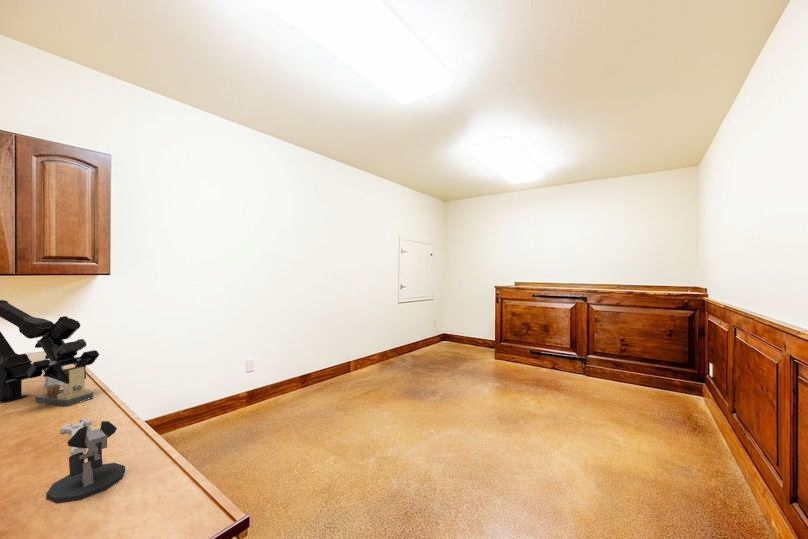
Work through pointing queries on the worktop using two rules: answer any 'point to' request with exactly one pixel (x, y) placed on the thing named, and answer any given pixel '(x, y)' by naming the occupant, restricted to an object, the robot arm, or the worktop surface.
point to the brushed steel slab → (52, 399)
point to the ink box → (53, 380)
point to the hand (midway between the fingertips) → (76, 380)
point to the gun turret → (87, 466)
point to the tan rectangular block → (74, 384)
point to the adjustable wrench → (72, 430)
